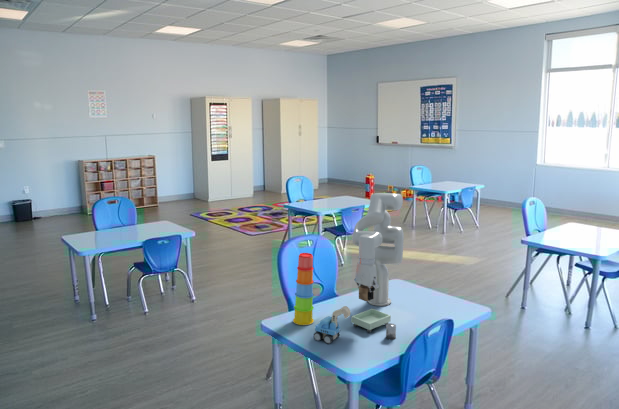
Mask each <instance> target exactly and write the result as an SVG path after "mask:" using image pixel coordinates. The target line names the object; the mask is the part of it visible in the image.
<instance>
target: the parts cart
mask: <svg viewBox="0 0 619 409" xmlns="http://www.w3.org/2000/svg"><path fill="white" fill-rule="evenodd" d="M350 316H351V315H350ZM391 317H392V316H391V314H387V313H386V312H383V311H380V310H377V309H375V308H370V309H367V310H365V311H361V312H359V313H356V314H354V315H352V316H351V318H350V323H352V324H353V327H356V328H357V327H358V326H359V327H362V328H364V329H366V332H368V333H370V334H371V333H372V332H373V331H372V330H373V329H375V328H376V329H377V328H378V327H381V326H386V325H387V324H389V323H391V319H392V318H391Z"/></svg>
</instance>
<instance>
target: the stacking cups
mask: <svg viewBox="0 0 619 409" xmlns="http://www.w3.org/2000/svg"><path fill="white" fill-rule="evenodd" d="M313 262H314V256H313V254H312V253H310V252H300V254H299V255H298V262H297V263H298V264H297V267H296V270H297V275H296V276H297V279H296V280H295V282H296V292H295V293H294V295H295V302H294V304H295V305H294V306H293V309H294V317H293V319H292V322H293V323H294V324H296V325H299V326H310V325H312V324H313V323H314V322H315V320H314V318H313V310H314V309H315V308H314V306H313V300H314V299H313V298H314V295H315V294H314V290H313V289H314V288H313V286H314V280H313V279H314V278H313V276H314V267H313V265H314V263H313Z"/></svg>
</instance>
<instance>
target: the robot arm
mask: <svg viewBox="0 0 619 409" xmlns="http://www.w3.org/2000/svg"><path fill="white" fill-rule="evenodd" d="M369 201H370V203H369V205H368V209H367V213H366V214H365V215H364V216H362V218H360V219H359V220H358V221H357V222H356V224H355V226H354V229H353V233H352V237H351V238H352V243H353V245H354V246H358V256H357V259H358V262H357V264H356V268H355V278H354V282H355V283H356V285H357V288H358V289H359V286H362V285H365V286H368V288H369V292H368V300H369V301H367V302H368V304H370V305H372V306H376V307H385V306H389V305H390V304H392V299H391V298H390V297H389V291H390V290H389V287H390V286H389V284H390V283H389V282H390V281H389V279H390V276H389V275H390V274H389V273H390V271H389V269H388V267H387V265H393V266H394V265H395V266H396V265H401V264H402V262H403V256H404V255H403V254H404V240H405V238H404V237H405V234H404V230H403V228H402V227H401V226H391V224H392V223H391V221H392V218H391V214H390V213H389V211H399V210H400V209H401V208H402V207H403V204H404V203H403V202H404V199H403V195H402V194H401V193H394V192H393V193H392V192H391V193H390V192H375V193H372V194H371V195H370V199H369ZM370 227H374V229H373V231H372V230H365V229H368V228H370ZM381 244H386V245H381ZM388 245H389V246H388ZM390 245H394V246H390ZM371 287H372V288H371ZM373 294H374V299H373ZM371 299H372V300H371Z"/></svg>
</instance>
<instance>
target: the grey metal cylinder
mask: <svg viewBox="0 0 619 409" xmlns="http://www.w3.org/2000/svg"><path fill="white" fill-rule="evenodd" d="M385 327H386V328H385V338H386V339H387V340H389V339H390V340H392V341H394V340H395V339H397V336H396V335H397V334H396V333H397V325H396V324H395V323H391V322H388V324H387V325H385Z"/></svg>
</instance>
